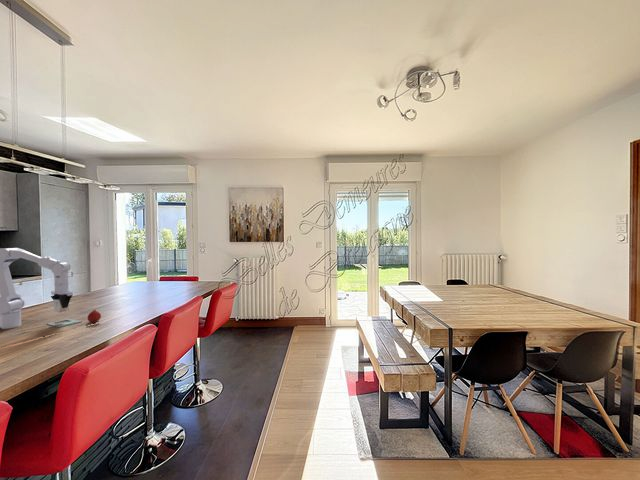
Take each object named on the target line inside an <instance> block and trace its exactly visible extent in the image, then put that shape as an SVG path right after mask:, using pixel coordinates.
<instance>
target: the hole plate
mask: <svg viewBox="0 0 640 480" xmlns="http://www.w3.org/2000/svg"><path fill="white" fill-rule="evenodd" d="M81 323H83V321H82V320H79V319H72V318H66V319H61V320H57V321H56V320H55V321H52V322H47V323H46V324H45V325H46V326H50V327H56V328H64V327H68V326H72V325H76V324H81Z"/></svg>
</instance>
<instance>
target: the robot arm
mask: <svg viewBox="0 0 640 480" xmlns="http://www.w3.org/2000/svg"><path fill="white" fill-rule="evenodd" d="M19 259H24V260H26V261H30V262H34V263H37V265H38V267H41V268H44V269H47V270H50V271H51V272H52V273H53V277H54V278H53V279H54V280H53V281H54V290H51V291H50V294H51V296H50V298H51V299H52V300H53V301H54V299H59V298H60V300H61V304H62V308H67V307H68V304H69V305H70V301H71V299H72V298H73V291H71V290H69V271H70V270H71V264H70V263H68V261H62V262H61V260H58V259H54V258H52V256H43V257H42V256H39V255H37V254H34V253H32V252H30V251H27V250H25V249H24V248H19V247H8V248H7V247H6V248H1V247H0V329H2V330H6V329H13V328H17V327H21V326H22V309H23V308H24V306H25V305H26V304H25V301H24V300H23V299H22V297H21V295H20V294H18V293H17V292H16V288H15V286H14V282H13V278H12V275H11V271H10V265H11V264H12V263H13V262H15V261H17V260H19Z"/></svg>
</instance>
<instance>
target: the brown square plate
mask: <svg viewBox="0 0 640 480" xmlns="http://www.w3.org/2000/svg"><path fill="white" fill-rule="evenodd" d="M50 327H51V326H50V325H46V324H38V325H33V326H29V327H25V328H20V329H19V331H21V332H25V333H30V332H32V331H37V330H41V329H46V328H50Z"/></svg>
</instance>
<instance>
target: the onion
mask: <svg viewBox="0 0 640 480" xmlns="http://www.w3.org/2000/svg"><path fill="white" fill-rule="evenodd" d="M101 317H102V314H101V313H100V312H99V311H97V310H96V309H94V308H93V310H92V311H91V312H89V314H88V315H87V321H88V322H89V323H92V324H96V323H97V322H99V320H101Z"/></svg>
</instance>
